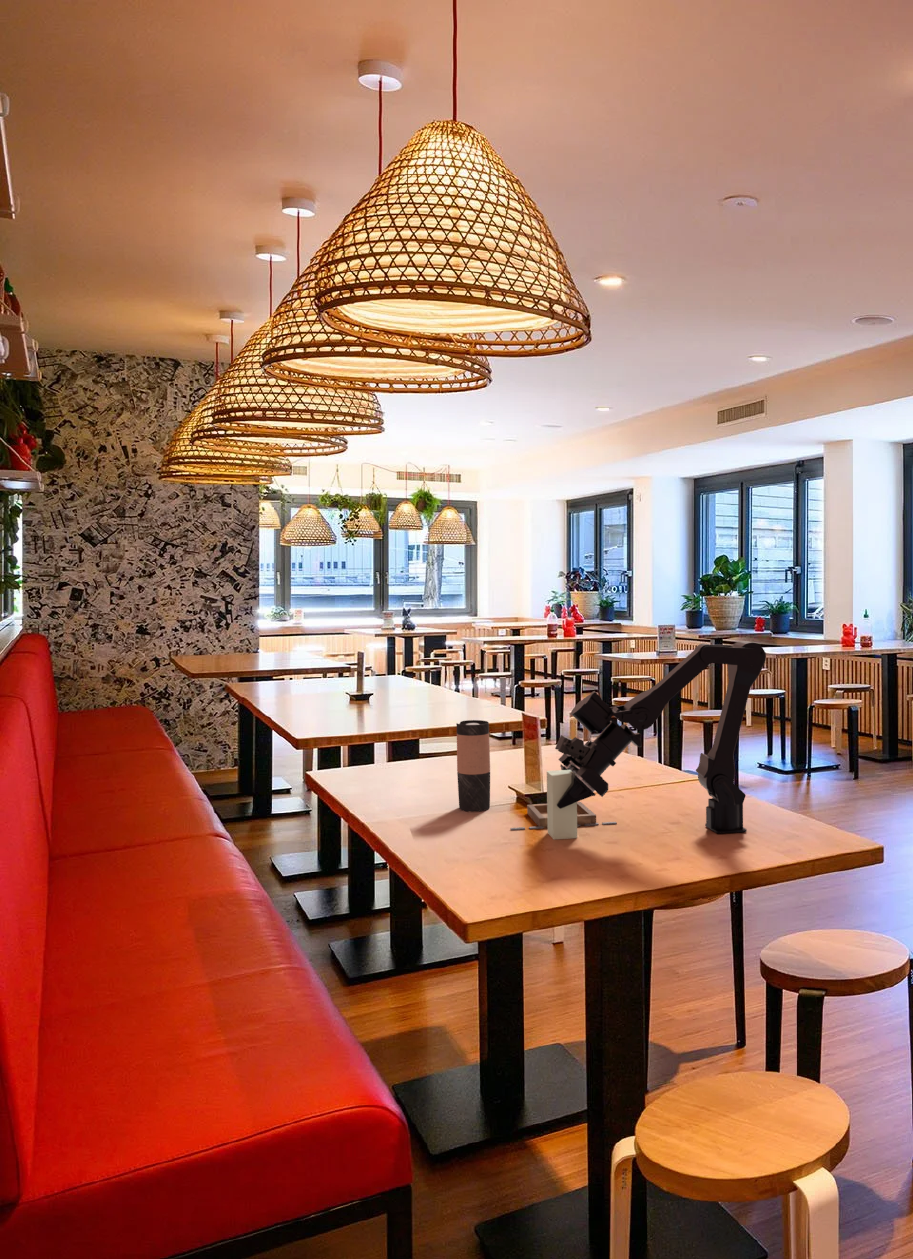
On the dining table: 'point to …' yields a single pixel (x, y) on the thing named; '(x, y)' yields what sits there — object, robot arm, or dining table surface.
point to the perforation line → (577, 825)
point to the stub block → (563, 819)
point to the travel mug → (473, 765)
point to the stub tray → (540, 814)
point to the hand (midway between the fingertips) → (555, 803)
